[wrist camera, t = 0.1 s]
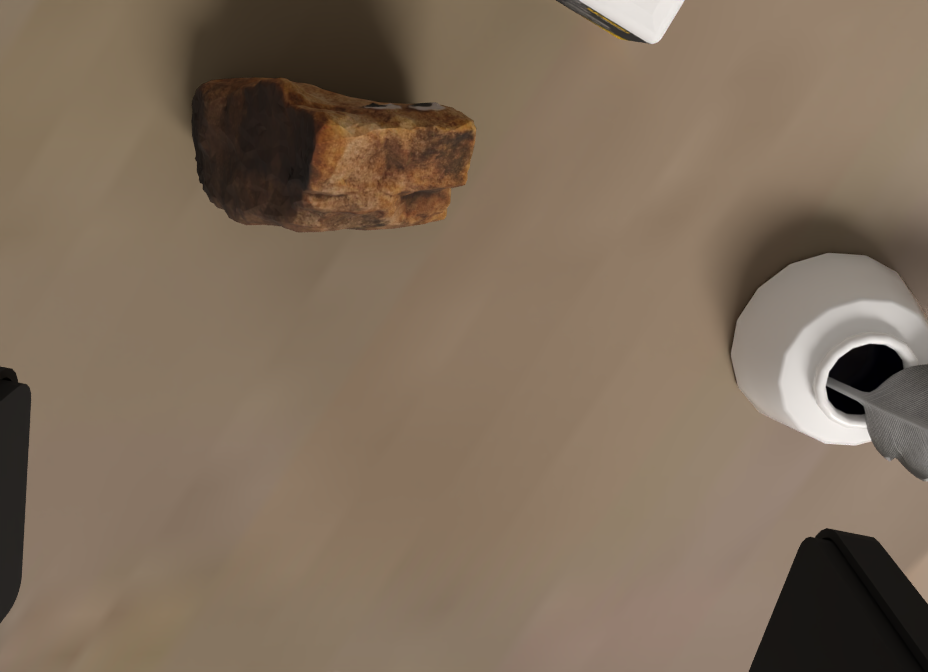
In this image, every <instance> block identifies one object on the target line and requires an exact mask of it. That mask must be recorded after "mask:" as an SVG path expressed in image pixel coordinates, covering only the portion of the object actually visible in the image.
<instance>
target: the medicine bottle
mask: <svg viewBox="0 0 928 672" xmlns="http://www.w3.org/2000/svg"><path fill="white" fill-rule="evenodd" d="M556 1H558V2H560V3H561V4H563V5H564V6H566V7H568V8H569V9H571V10H573V11H574V12H576V13H577V14H579V15H581V16H582V17H584V18H586V19H587V20H589V21H591V22H592V23H594V24H595V25H597V26H599V27H600V28H602V29H604V30H605V31H607V32H609V33H610V34H612V35H613V36H615V37H617V38H618V39H622V40H628V41H635V42H642V43H649V44H654V43H657V42H658V41H659V40H660V39H661V38H662V37H663V35H664V33H665V32H666V30H667V29H668V27H669V25H670V24H671V22H672V20H673V19H674V17H675V15H676V14H677V12H678V10H679V9H680V7H681V5H682V4H683V2H684V0H556Z"/></svg>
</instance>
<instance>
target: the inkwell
mask: <svg viewBox="0 0 928 672" xmlns="http://www.w3.org/2000/svg"><path fill="white" fill-rule="evenodd" d="M731 359H732V363H733V367H734V371H735V376H736V380H737V384H738V388H739V389H740V390H741V391H742V392H743V394H744V395H745V396H746V397H747V398H748V400H749V401H750V402H751V403H752V404H753V406H754V407H755V408H756V409H757V410H758V412H759V413H761V414H763V415H765V416H767V417H769V418H771V419H773V420H775V421H777V422H779V423H781V424H783V425H785V426H787V427H790V428H792V429H794V430H796V431H798V432H800V433H802V434H804V435H806V436H808V437H810V438H813V439H815V440H818V441H820V442H823V443H825V444H840V445H859V444H863V443H866V442H870V441H872V443H873V444H874V446H875V448H876V449H877V450H878V452H879V453H880V454H881V455H882V456H883V457H884V458H885V459H887V460H888V461H891V460H892V459H894V458H897V459H898V460H899V461H900V463H901V464H902V465H903V466H904V467H905V468H906V469H907V470H908V471H909V472H910V473H912V474H913V475H914V476H915V477H917V478H919V479H920V480H922V481H928V318H927V316H926V314H925V313H924V311H923V309H922V307H921V305H920V304H919V302H918V300H917V299H916V297H915V296H914V294H913V293H912V292H911V290H910V289H909V288H908V286H907V285H906V284H905V282H904V281H903V279H902V278H901V277H900V275H899V274H898V273H897V272H896V271H894V270H892V269H890V268H888V267H887V266H885V265H883V264H881V263H879V262H877V261H876V260H874V259H872V258H870V257H868V256H866V255H853V254H838V253H826V254H822V255H819V256H816V257H812V258H809V259H805V260H802V261H799V262H795V263H792V264H789V265H788V266H787V267H785V268H784V269H783V270H781V271H780V272H779V273H778V274H776V275H775V276H774V277H772V278H771V279H770V280H768V281H767V282H766V283H764V284H763V285H762V286H760V287H759V288H758V289H757V291H756V292H755V294H754V295H753V297H752V298H751V300H750V301H749V303H748V304H747V306H746V307H745V309H744V310H743V312H742V313H741V315H740V316H739V318H738V320H737V323H736V329H735V334H734V340H733V345H732V350H731Z"/></svg>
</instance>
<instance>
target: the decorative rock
mask: <svg viewBox="0 0 928 672" xmlns="http://www.w3.org/2000/svg"><path fill="white" fill-rule="evenodd" d="M192 109H193V114H192V137H193V142H194V146H195V151H196V157H195V159H196V161H197V173H198V176H199V181H200V183H202V184H203V190H204V191H205V192H206V193H207V195H208V197H209V200H210V202H212V203H214V204H215V205H216V207H218V208H221V209H224V210H225V212H226V213H227V215H228V217H229V218H231V219H233V220H234V221H236V222H239V223H242V224H245V225H274V226H282V227H284V228H286V229H290V230H293V231H296V232H324V231H328V230H329V231H334V230H340V229H356V230H376V229H392V228H400V227H406V226H413V225H420V224H426V223H428V222H434V221H438V220H442V219H444V218H445V217H446V214H447V207H448V206H449V204H450V198H451V188H454V187H458V186H463V185H465V184H466V181H467V171H468V170H469V166H470V159H471V156H472V153H473V148H474V144H475V136H476V127H475V125H474V121H473V120H472V119H470V118H468V117H467V116H466V115H464V114H463V113H462V112H460V111H457V110H455V109H454V108H452V107H448V106H444V105H439V104H438V103H436V102H434V103H417V104H399V103H381V102H375V101H371V100H366V99H359V98H353V97H348V96H345V95H341V94H338V93H334V92H331V91H327V90H324V89H321V88H319V87H317V86H315V85H311V84H307V83H297V82H293V81H289V80H288V79H285V78H281V77H280V78H274V79H273V78H255V77H253V78H231V79H218V80H211V81H208V82H206V83H204V84H202V85H201V86H200V87H199V88H198V89H197V90H196V92H195V96H194V97H193V101H192Z"/></svg>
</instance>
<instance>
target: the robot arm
mask: <svg viewBox="0 0 928 672" xmlns="http://www.w3.org/2000/svg"><path fill="white" fill-rule="evenodd" d="M30 410H31V392H30V388H29V386H28V385H27V384H22V383H18V379H17V376H16V373H15V372H14V370H13V369H10V368H5V367H0V623H1V622H2V620H3V619H4V618H5V616H6V615H7V614H8V612H9V611H10V609H11V608H12V606H13V604H14V602H15V600H16V597H17V595H18V592H19V588H20V584H21V577H22V560H23V541H24V523H25V504H26V485H27V466H28V447H29V428H30ZM749 672H928V604H927V603H926V601H925V600H924V599H923V598H922V596H921V595H920V594H919V592H918V591H917V590H916V589H915V587H914V586H913V585H912V584H911V582H910V581H909V580H908V578H907V577H906V576H905V575H904V573H903V572H902V571H901V569H900V568H899V567H898V566H897V564H896V563H895V562H894V561H893V559H892V558H891V557H890V555H889V554H888V553H887V552H886V550H885V549H884V548H883V547H882V545H881V544H880V543H879V542H878V541H877V540H876V539H875V538H874V537H869V536H864V535H859V534H853V533H848V532H843V531H838V530H833V529H828V528H826V529H824V530H821V531H820V532H819V533H818V534H817V535H816V537H815V538H813V537H808V538H806V539H805V540H804V541H803V542H802V543H801V545H800V547H799V549H798V552H797V554H796V557H795V559H794V561H793V564H792V566H791V569H790V571H789V574H788V576H787V579H786V581H785V584H784V586H783V589H782V591H781V593H780V596H779V598H778V601H777V603H776V606H775V608H774V611H773V613H772V616H771V618H770V621H769V623H768V625H767V628H766V630H765V633H764V635H763V638H762V640H761V643H760V645H759V648H758V650H757V653H756V655H755V657H754V660H753V662H752V665H751V667H750V670H749Z"/></svg>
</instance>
